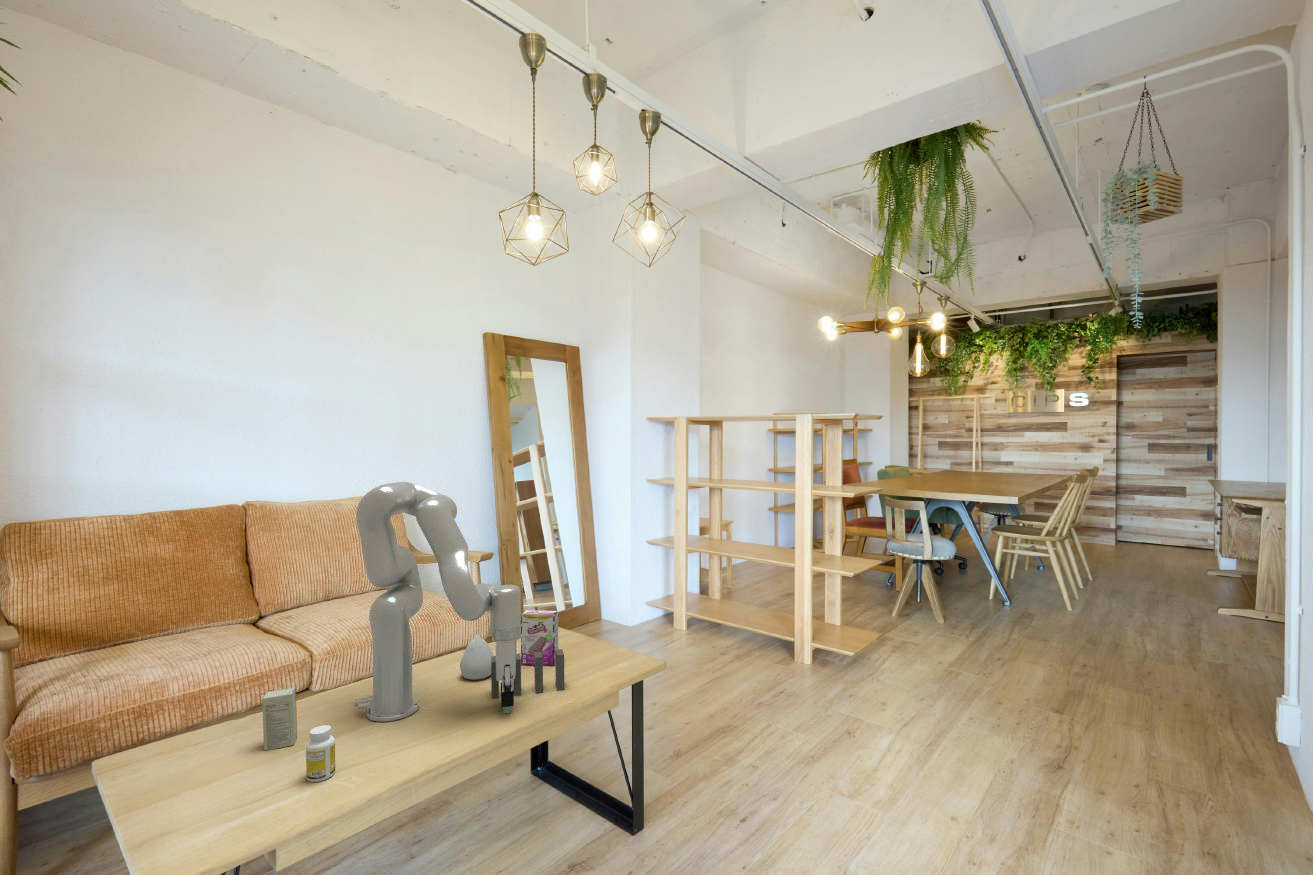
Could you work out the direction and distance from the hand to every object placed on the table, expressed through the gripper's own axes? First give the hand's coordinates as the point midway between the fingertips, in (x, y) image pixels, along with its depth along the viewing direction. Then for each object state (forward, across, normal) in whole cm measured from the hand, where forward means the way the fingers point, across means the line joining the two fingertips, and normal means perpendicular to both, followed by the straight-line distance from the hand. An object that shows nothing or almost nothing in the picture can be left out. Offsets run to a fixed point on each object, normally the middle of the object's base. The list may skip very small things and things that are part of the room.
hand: (507, 700), depth 159 cm
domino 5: (+2, -10, +15) cm, 18 cm away
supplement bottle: (+2, +22, -39) cm, 45 cm away
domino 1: (+2, -10, -3) cm, 11 cm away
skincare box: (+2, +4, -52) cm, 52 cm away
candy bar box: (+2, -31, +11) cm, 33 cm away
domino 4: (+2, -10, +9) cm, 14 cm away
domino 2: (+2, 0, 0) cm, 2 cm away
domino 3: (+2, -10, +3) cm, 11 cm away
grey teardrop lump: (+2, -26, -8) cm, 27 cm away
